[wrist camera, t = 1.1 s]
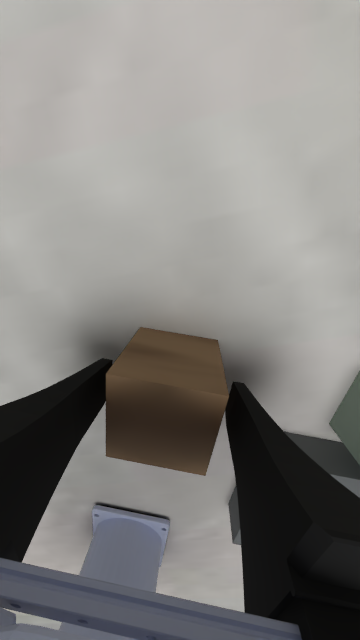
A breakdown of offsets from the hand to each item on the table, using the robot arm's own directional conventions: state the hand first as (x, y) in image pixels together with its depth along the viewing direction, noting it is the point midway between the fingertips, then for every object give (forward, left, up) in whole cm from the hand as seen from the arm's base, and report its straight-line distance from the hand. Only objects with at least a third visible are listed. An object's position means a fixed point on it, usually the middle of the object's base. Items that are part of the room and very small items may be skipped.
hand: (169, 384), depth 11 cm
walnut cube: (0, 0, -2) cm, 2 cm away
